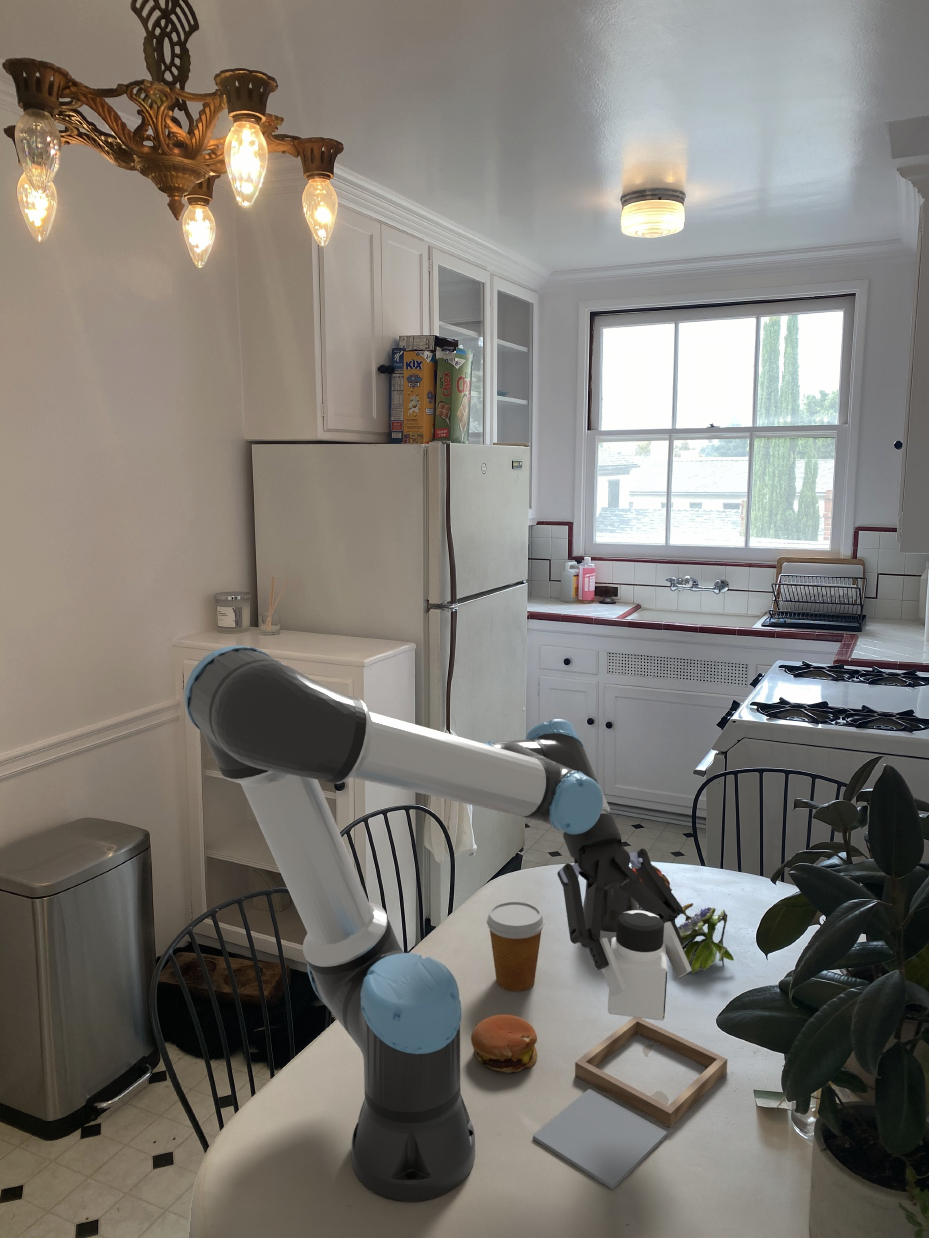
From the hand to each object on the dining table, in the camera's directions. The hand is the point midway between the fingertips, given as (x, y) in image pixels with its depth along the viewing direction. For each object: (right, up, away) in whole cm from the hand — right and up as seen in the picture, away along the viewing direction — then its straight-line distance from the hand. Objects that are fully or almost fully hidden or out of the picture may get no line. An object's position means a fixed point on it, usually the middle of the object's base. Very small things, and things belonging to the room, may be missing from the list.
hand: (652, 983), depth 115 cm
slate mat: (-7, -19, -2) cm, 20 cm away
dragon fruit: (+11, -9, +61) cm, 62 cm away
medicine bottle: (-2, -4, +3) cm, 6 cm away
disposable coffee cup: (-16, -13, +34) cm, 40 cm away
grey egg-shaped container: (+2, -11, +48) cm, 49 cm away
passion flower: (+17, -12, +40) cm, 45 cm away
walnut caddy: (+2, -17, +10) cm, 20 cm away
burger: (-18, -17, +15) cm, 29 cm away
